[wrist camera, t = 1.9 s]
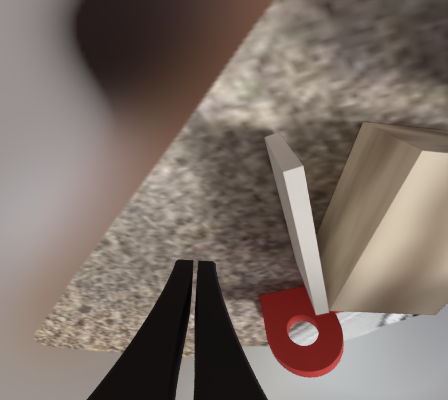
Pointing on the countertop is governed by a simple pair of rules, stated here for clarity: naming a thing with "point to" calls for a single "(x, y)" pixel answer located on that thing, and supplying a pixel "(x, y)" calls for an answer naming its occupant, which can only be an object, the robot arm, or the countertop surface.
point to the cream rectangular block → (389, 224)
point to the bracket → (291, 352)
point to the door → (298, 217)
